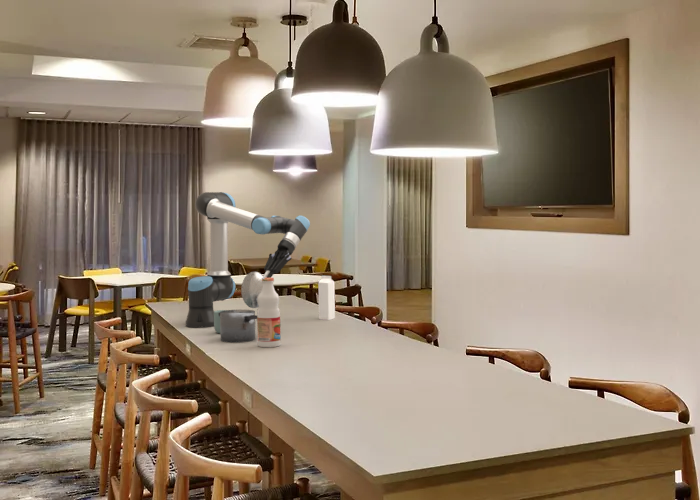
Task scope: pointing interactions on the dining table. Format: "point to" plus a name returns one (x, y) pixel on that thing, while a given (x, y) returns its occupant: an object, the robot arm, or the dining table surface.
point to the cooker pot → (237, 325)
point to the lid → (252, 288)
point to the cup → (217, 320)
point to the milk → (326, 298)
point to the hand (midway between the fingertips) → (262, 283)
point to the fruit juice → (268, 315)
